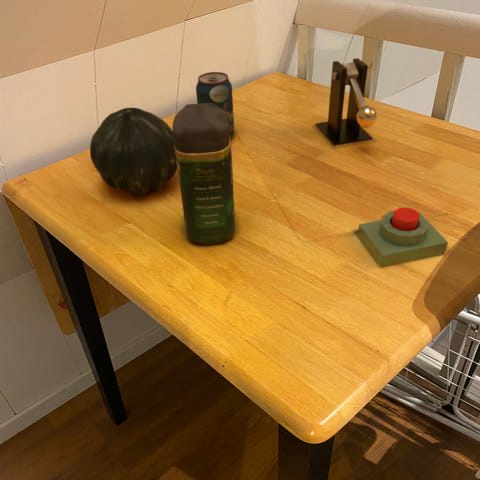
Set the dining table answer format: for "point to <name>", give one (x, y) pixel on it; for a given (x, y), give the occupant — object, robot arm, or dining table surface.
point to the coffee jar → (205, 172)
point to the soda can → (217, 94)
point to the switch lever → (359, 98)
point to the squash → (134, 151)
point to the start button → (405, 219)
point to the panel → (400, 241)
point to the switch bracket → (337, 127)
